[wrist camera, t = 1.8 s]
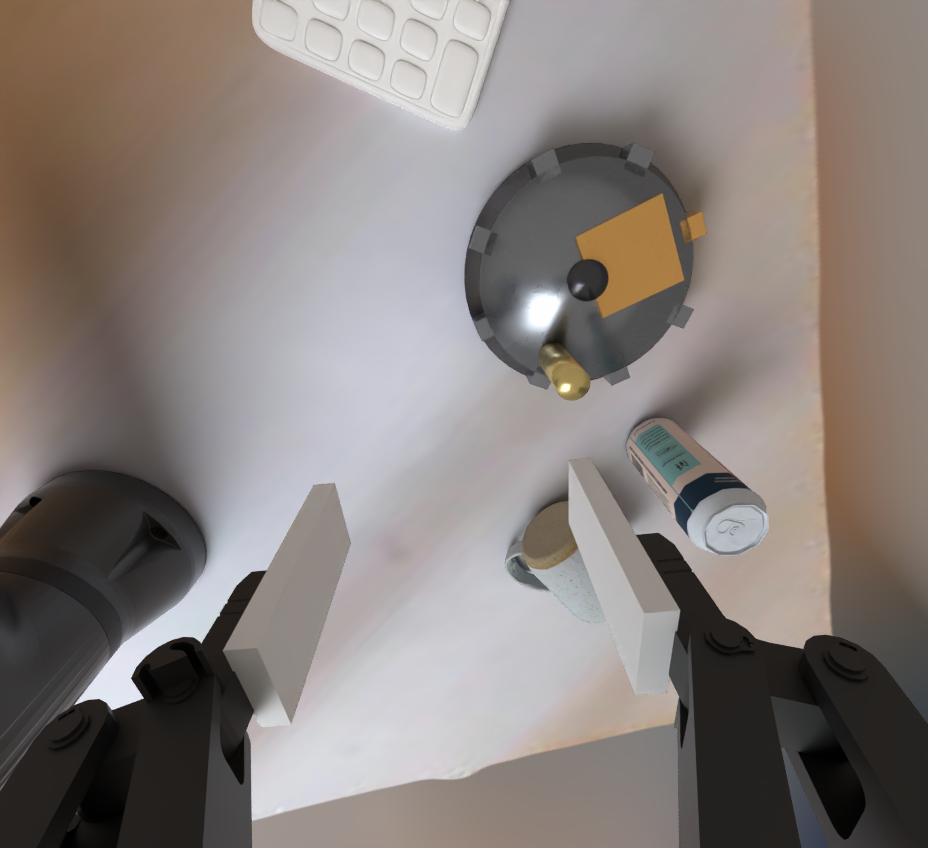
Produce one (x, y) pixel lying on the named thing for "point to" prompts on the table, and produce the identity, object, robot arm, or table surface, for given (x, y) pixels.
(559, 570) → the ceramic mug
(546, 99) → the table surface
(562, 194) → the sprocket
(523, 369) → the hub plate
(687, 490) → the beer can
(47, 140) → the table surface
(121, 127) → the table surface
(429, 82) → the calculator
